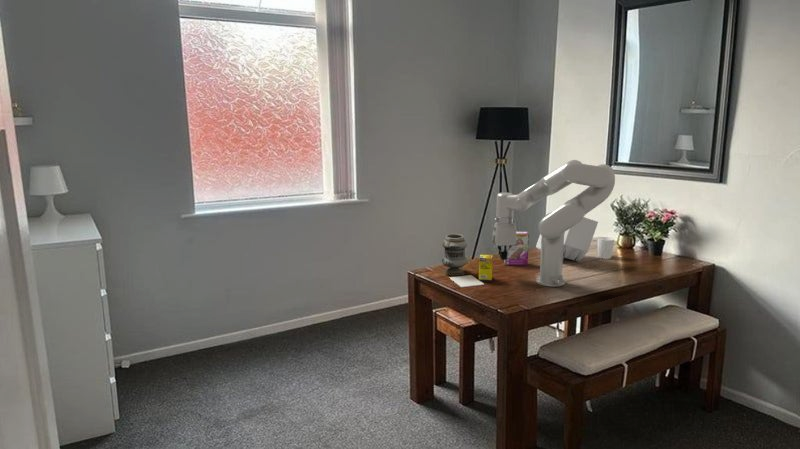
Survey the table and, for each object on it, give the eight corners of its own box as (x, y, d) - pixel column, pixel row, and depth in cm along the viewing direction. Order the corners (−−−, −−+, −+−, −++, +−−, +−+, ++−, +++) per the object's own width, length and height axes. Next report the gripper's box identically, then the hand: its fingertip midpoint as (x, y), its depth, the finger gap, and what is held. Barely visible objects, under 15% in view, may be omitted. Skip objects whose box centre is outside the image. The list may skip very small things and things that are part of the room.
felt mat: (484, 284, 238) (484, 284, 238) (461, 287, 235) (461, 286, 235) (471, 275, 251) (471, 275, 251) (449, 278, 248) (449, 277, 248)
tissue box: (532, 252, 280) (547, 206, 278) (555, 259, 286) (570, 214, 284) (557, 262, 261) (574, 213, 259) (581, 269, 268) (598, 221, 266)
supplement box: (491, 281, 242) (492, 258, 240) (478, 281, 243) (478, 257, 241) (492, 277, 248) (492, 254, 246) (479, 277, 249) (479, 254, 247)
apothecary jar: (447, 277, 250) (447, 239, 246) (438, 270, 261) (438, 233, 258) (471, 274, 253) (471, 237, 249) (461, 267, 264) (461, 232, 261)
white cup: (593, 256, 281) (594, 237, 279) (604, 254, 284) (605, 236, 282) (604, 260, 274) (605, 241, 272) (616, 258, 277) (617, 239, 275)
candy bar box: (505, 265, 267) (506, 233, 263) (504, 262, 272) (505, 231, 268) (528, 265, 266) (529, 233, 262) (526, 263, 271) (527, 231, 267)
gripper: (493, 222, 237) (492, 263, 241) (523, 220, 241) (522, 260, 245) (485, 219, 244) (485, 258, 248) (515, 217, 248) (514, 255, 252)
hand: (503, 259), depth 246 cm, fingers closed
